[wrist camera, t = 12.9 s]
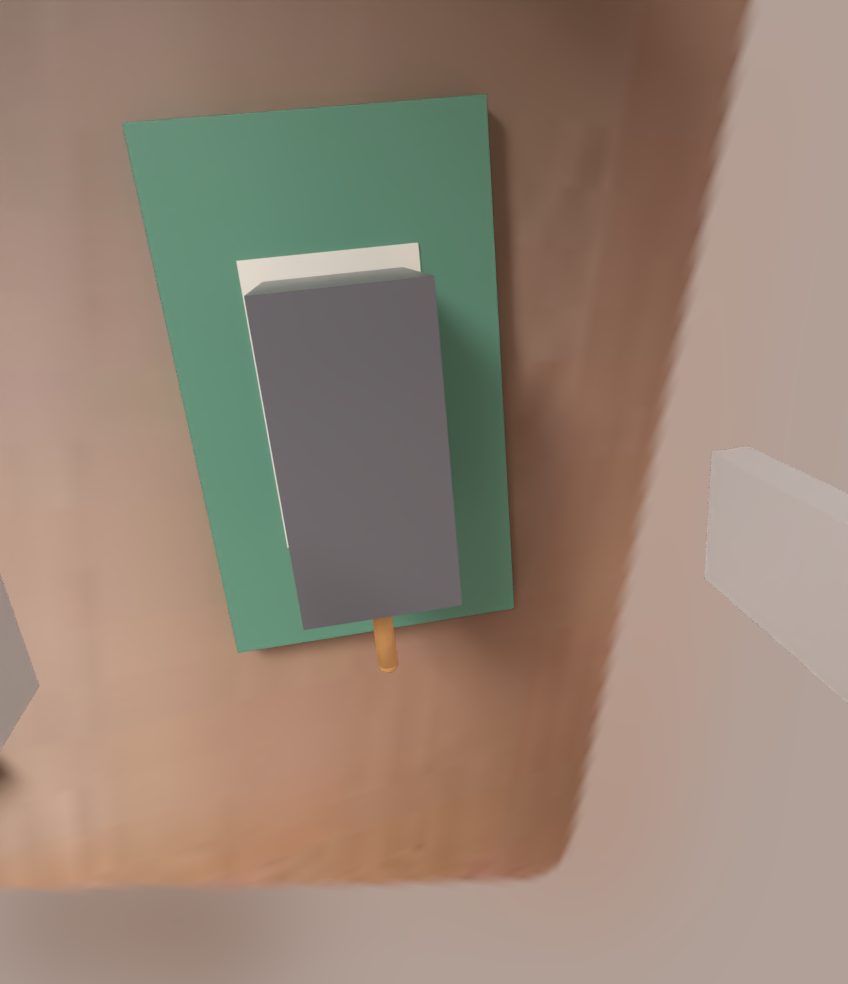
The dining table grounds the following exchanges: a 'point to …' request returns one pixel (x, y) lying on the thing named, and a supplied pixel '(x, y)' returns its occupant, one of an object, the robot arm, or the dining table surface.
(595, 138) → the dining table surface
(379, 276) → the block
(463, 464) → the board
